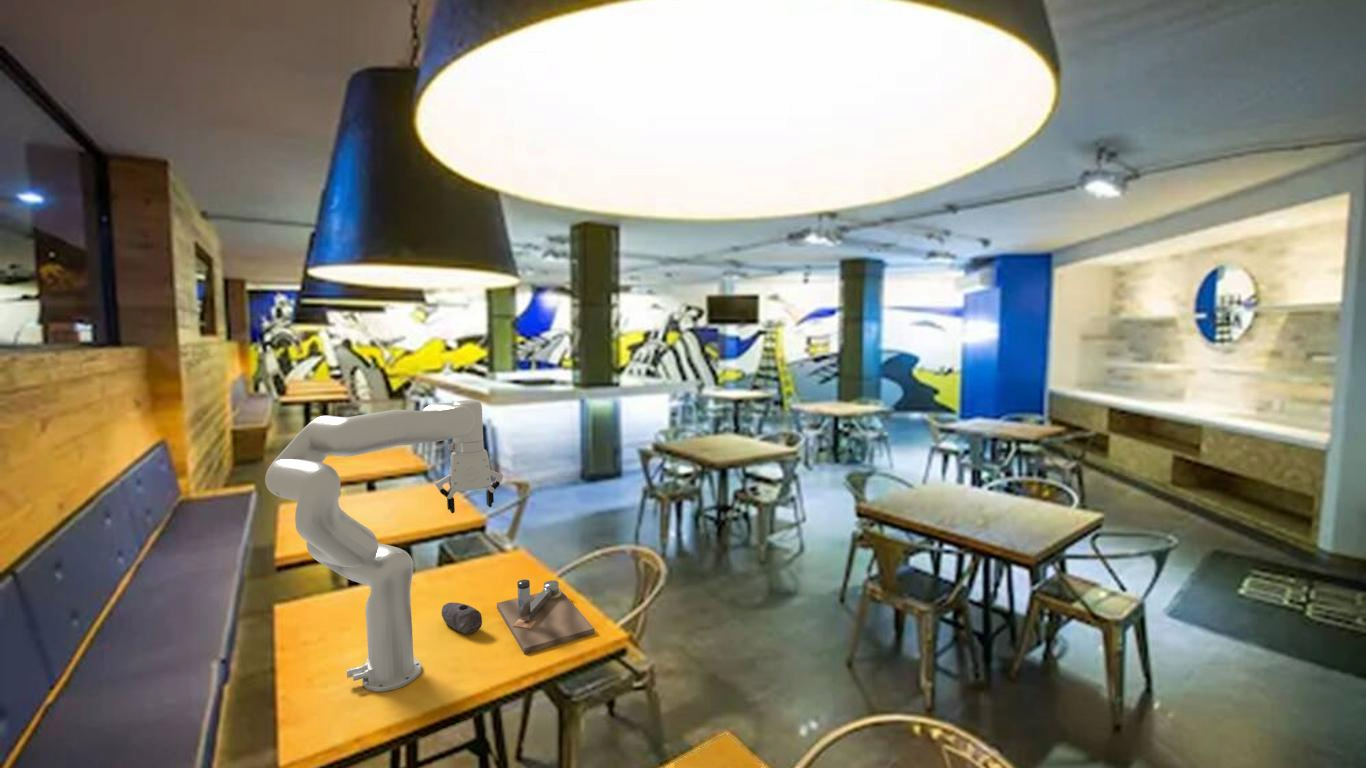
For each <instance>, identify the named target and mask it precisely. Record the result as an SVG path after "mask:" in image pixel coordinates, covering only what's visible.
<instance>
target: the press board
mask: <svg viewBox="0 0 1366 768" xmlns="http://www.w3.org/2000/svg"><path fill="white" fill-rule="evenodd" d="M541 592H542V591H540V592H537V593H533V594H530V604H531V602H532V601H533V600H534V599H535V598H536V597H537V596H538V595H539V594H540V593H541ZM496 609H497V611H498V613H499V614H500V615H501V618H502V620H503V621H504V622H505V624H506V626H507V627H508V629H509V631H510V633H511V635H512V636H513V638H514V639H515V641H516V642H517V645H518V646H519V648H520V650H521V651H522V652H523V654H524V655H528V654H530V653H533V652H538V651H539V650H540V651H541V650H543V649H547V648H551V647H555V646H557V645H561V644H565V643H568V642H571V641H575V640H577V639H581V638H586V637H589V636H593V635H594V634H595V628H594V626H593V625H592V624H591V623H590V621H589V620H587V618H586V617H585V616H584V615H583V614H582V612H581V611H580V610H579V609H578V608H577V607H576V606H575V604H574V603H573V602H572V601H571V600H570V599H569V597H568V596H567V595H566V594H565V593H564V591H563V590H562V589H561V588H560V587H559V592H558V593H557V594H556V595H552V596H551V597H550V598H549V599H548V600H547V601H546V602H545V604H544V605H543V606H542V607H541V608H540V609H539V610H538V612H537V613H536V614H535V615H534V616H533V617H532V618H531V620H530V621H526V620H522V617H519V616H518V597H517V598H516V597H515V598H513V599H507V600H504V601H503V600H502V601H500V602H497V603H496Z"/></svg>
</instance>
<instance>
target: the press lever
mask: <svg viewBox="0 0 1366 768" xmlns="http://www.w3.org/2000/svg"><path fill="white" fill-rule="evenodd" d="M516 582H517V583H516V584H517V585H516V586H517V598H518V616H519V617H522V620H526V621H530V620H531V618H532V617H533V616H534V615H535V614H536V613H537V612H538V610H539V609H540V608H541V607H542V606H543V605H544V604H545V602H546V601H547V600H548V599H549V598H550V597H551V596H552V595H556V594H557V593H558V592H559V588H560V587H559V585H560V584H559V582H558V581H557V580H548V581H546V582H544V583H543V589H542V590H541V591H540V592H541V593H540V592H539V593H540V594H539V595H538V596H537V597H536V598H535V599H534V600H533V601H532V602H531V604H530V595H531V583H530V579H519V580H518V581H516Z"/></svg>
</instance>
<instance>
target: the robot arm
mask: <svg viewBox="0 0 1366 768" xmlns="http://www.w3.org/2000/svg"><path fill="white" fill-rule="evenodd" d="M447 440H452V442H451V443H450V444H447V450H452V451H453V452H451V454H450V458H449V459H450V460H449V473H448V474H447V475H445V476H444V477H443V478H441V479H439V480H438V481H436V482H435V483H434V485H435V486H436V488H437V490H438V491H439V492H440V494H441V495H443V496H444V497H446V503H447V504H446V505H447V511H450V513H451V514H455V512H456V510H455V509H456V508H455V498H454V495H455V494H456V493H458V492H466V491H473V490H482V489H487V490H486V491H485V492H486V493H485V494H486V505H487V507H488V508H492V507H493V504H494V502H495V501H494V493H495V491H496V490H497V488H498V487H499V486H500V484H501V482H502V479H503V478H504V475H503V474H502V473H500V472H497V471H494V470H491V468H490V459H489V454H488V451H487V449H485V448H484V426H483V406H482V403H481V402H480V401H478V400H473V399H472V400H471V399H469V400H468V399H467V400H466V399H465V400H464V399H463V400H459V401H455V402H449V403H448V402H447V403H446V402H445V403H443V402H441V403H439V402H436V403H432V404H429V405H427V406H426V407H424V408H423V409H422V410H413V409H391V410H386V411H385V410H384V411H379V412H372V413H367V414H360V415H359V414H358V415H355V416H344V417H343V416H337V415H335V416H334V415H321V416H318V417H316V418H314V419H313V420H311V421H310V422H309V423H308V424H307V425H306V426H304V427H303V428H302V429H301V430H300V431H299V432H298V433H297V434H296V435H295V437H294V438H293V439H292V440H291V441H290V442H289V443H288V444H287V445H286V447H285V448H284V449H283V450H282V451H281V452H280V453H279V455H278V456H277V457H275V458H274V460H273V461H272V463H271V464H270V465H269V467H268V468H267V471H266V473H265V477H264V481H265V482H264V483H265V486H266V488H267V490H268V491H269V492H270V493H271V494H272V495H274V496H276V497H278V498H282V499H286V500H290V501H294V502H296V508H295V516H294V517H295V518H294V521H295V529H296V532H297V534H298V535H299V536H300V537H301V538H302V539H303V540H304V541H306V548H307V549H306V550H307V551H308V554H309V555H310V556H311V557H312V558H313V560H316V562H318V563H320V564H322V565H323V566H325V567H326V568H328V569H329V570H331V571H333V572H335V573H336V574H338V575H340V576H342V577H343V578H345V579H346V580H347V579H348V580H350V581H352V582H356V583H358V584H362V585H364V586H367V587H369V588H370V593H369V595H368V598H367V600H366V603H365V622H366V623H365V625H366V637H367V638H366V639H367V640H366V641H367V653H368V655H367V658H366V662H365V663H362V664H361V665H360V666H356V667H355V666H354V667H351V668H346V675H347V676H346V678H347V679H349V678H352V679H353V680H352V681H353V682H355V681H359V680H361V682H362V686H363V688H365V689H366V690H368V691H371V692H376V693H377V692H389V691H394V690H397V689H401V688H403V687H404V686H407V685H408V684H410V683H411V682H413V681H414V680H415V679H417V678H418V677H419V676H420V674H421V672H422V663H421V661H420V660H418V659H417V658H416V657H414V639H413V622H412V620H413V619H412V618H413V617H412V603H411V601H412V600H411V588H412V581H413V575H414V561H413V559H412V556H411V555H410V554H409V553H408V552H407V551H406V550H404V549H402V548H400V547H396V546H393V545H389V544H384V543H381V542H379V541H378V539H377V536H376V535H375V533H374V532H373V531H372V530H371V529H370V528H368V527H367V526H365V525H363V524H361V522H358V521H357V520H356V519H354V518H353V517H351V516H350V515H349V514H347V513H346V512H345V511H344V509H342V508H341V507H340V505H339V497H340V491H341V479H340V476H339V473H338V472H337V471H336V469H334V468H333V467H332V466H331V465H329V464H327V463H324V461H325V459H326V458H327V457H328V456H329V455H330V456H331V455H332V456H335V457H343V458H346V457H348V458H349V457H355V456H356V457H357V456H359V455H365V454H368V453H372V452H377V451H381V450H387V449H391V448H395V447H401V446H413V445H418V444H426V443H435V442H442V441H443V442H444V441H447ZM491 477H494V478H495V480H494V481H493V482H492V478H491ZM448 482H449V483H448ZM446 483H448V484H449V488H448V490H446V489H445V488H444V487H443V486H444V485H445V484H446Z"/></svg>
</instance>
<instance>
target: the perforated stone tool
mask: <svg viewBox="0 0 1366 768" xmlns="http://www.w3.org/2000/svg"><path fill="white" fill-rule="evenodd" d="M441 617H442V620H443V621H444V623H445V624H446V625H447V626H449V627H450V628H452V629H454V630H456V631H457V632H459V633H461V632H462V633H464V634H471V633H473V632H474V633H475V632H477V631H478V630H480V628H481V627H482V626H483V618H482V613H481V611H479V610H478V609H476V608H474V607H473V606H471V605H469V604H465V603H460V602H446V603H445V604H444V605H443V606H442V608H441Z"/></svg>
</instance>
